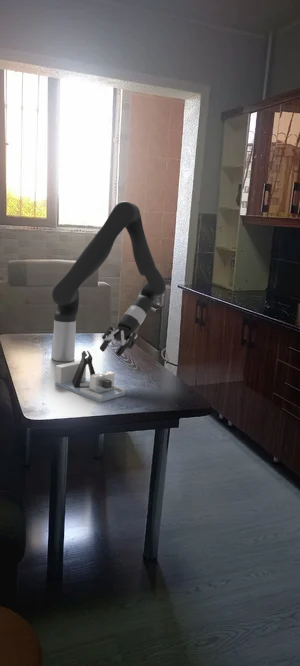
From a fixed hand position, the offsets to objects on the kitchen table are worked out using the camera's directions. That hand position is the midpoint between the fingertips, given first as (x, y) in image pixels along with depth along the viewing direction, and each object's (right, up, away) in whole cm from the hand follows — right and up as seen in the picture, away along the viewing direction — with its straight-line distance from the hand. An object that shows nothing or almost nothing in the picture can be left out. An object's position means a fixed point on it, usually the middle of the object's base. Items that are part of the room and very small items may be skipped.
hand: (109, 352), depth 190 cm
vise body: (-7, -13, -7) cm, 16 cm away
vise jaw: (-1, -13, -12) cm, 18 cm away
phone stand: (-8, -12, -6) cm, 16 cm away
